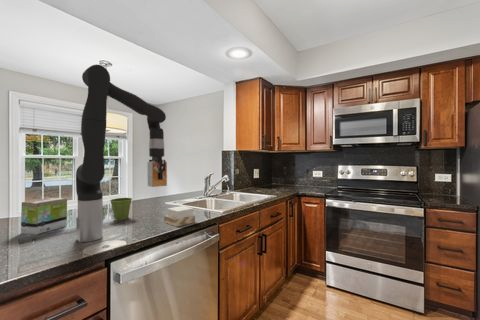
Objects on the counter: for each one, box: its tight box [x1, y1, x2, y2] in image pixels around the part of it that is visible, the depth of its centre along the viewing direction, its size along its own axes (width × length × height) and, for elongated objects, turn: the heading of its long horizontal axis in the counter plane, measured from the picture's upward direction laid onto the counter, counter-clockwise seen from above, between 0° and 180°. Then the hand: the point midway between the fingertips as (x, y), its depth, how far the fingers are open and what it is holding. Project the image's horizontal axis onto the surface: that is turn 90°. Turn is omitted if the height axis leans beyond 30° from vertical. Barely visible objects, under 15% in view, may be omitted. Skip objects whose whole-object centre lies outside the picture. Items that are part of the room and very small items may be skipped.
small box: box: [146, 161, 168, 188], centre depth 126 cm, size 8×6×13 cm
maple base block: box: [163, 214, 196, 228], centre depth 131 cm, size 12×12×4 cm
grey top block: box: [167, 205, 194, 219], centre depth 131 cm, size 10×10×4 cm
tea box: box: [20, 197, 68, 235], centre depth 117 cm, size 15×10×15 cm
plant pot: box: [109, 197, 133, 221], centre depth 138 cm, size 12×12×11 cm
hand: (157, 179), depth 126 cm, fingers closed on small box, 6 cm apart
